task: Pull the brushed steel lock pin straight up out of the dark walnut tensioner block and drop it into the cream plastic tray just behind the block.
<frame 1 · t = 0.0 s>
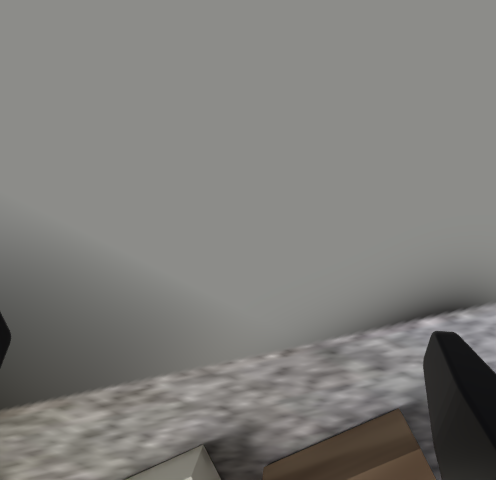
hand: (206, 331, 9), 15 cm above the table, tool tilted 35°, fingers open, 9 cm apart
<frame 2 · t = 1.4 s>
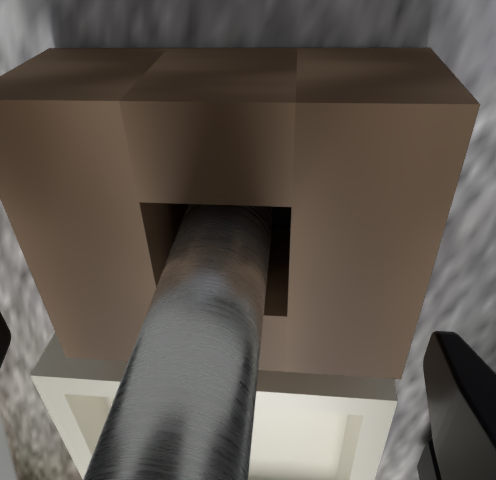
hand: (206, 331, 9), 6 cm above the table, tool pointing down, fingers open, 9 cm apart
tray: (228, 415, 22), on the table
tensioner block: (238, 182, 14), on the table
lock pin: (212, 291, 10), in the tensioner block
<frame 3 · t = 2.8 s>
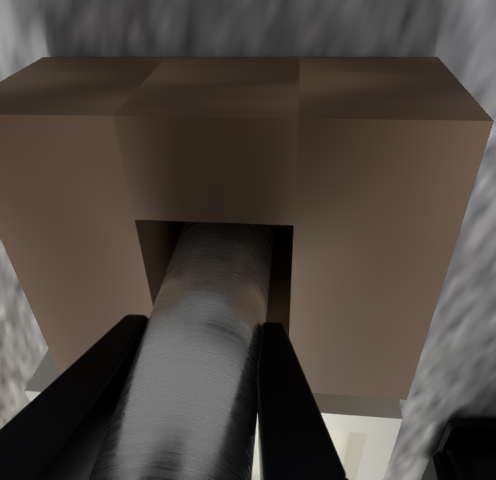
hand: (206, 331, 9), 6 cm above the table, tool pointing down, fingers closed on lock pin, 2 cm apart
tray: (227, 428, 22), on the table
tensioner block: (238, 194, 14), on the table
lock pin: (210, 312, 10), in the tensioner block, touching gripper
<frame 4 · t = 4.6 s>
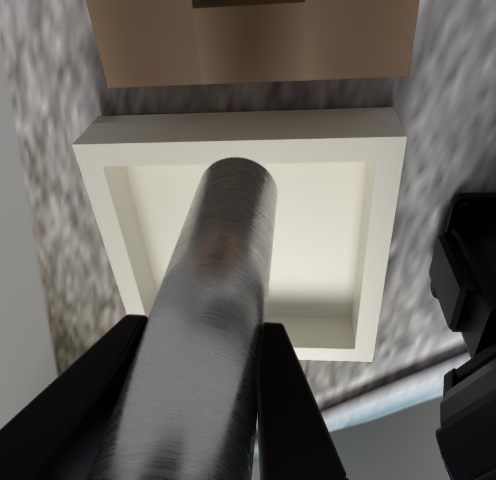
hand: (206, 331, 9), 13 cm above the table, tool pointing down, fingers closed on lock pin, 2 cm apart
tray: (249, 232, 24), on the table
lock pin: (210, 311, 10), point 12 cm above the table, touching gripper
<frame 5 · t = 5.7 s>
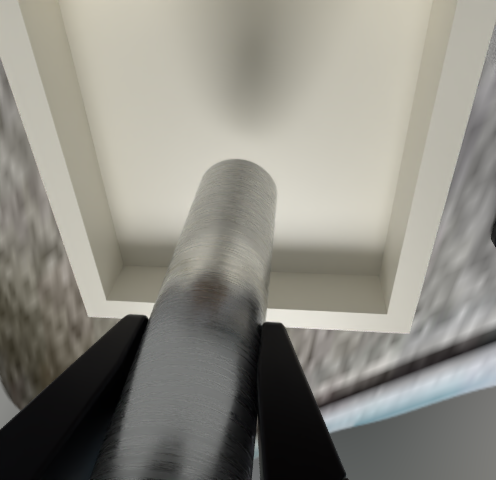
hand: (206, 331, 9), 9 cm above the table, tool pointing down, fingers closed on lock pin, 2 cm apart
tray: (246, 143, 17), on the table
lock pin: (210, 314, 10), point 9 cm above the table, touching gripper
when the fingers open (8 cm above the table, at t = 6.5 s): lock pin drops 1 cm, resting on tray.
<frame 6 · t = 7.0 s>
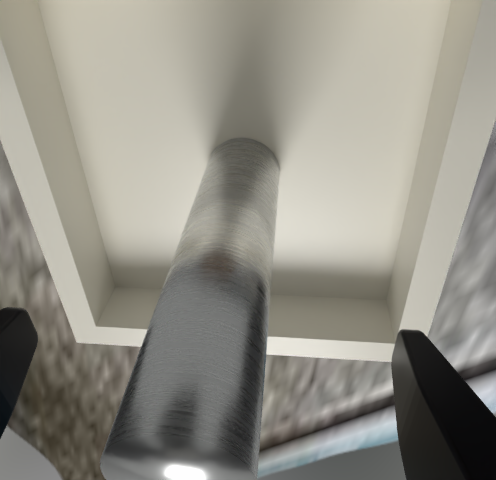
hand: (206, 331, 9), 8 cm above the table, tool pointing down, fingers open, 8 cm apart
tray: (244, 160, 16), on the table
lock pin: (222, 268, 11), in the tray, point 6 cm above the table
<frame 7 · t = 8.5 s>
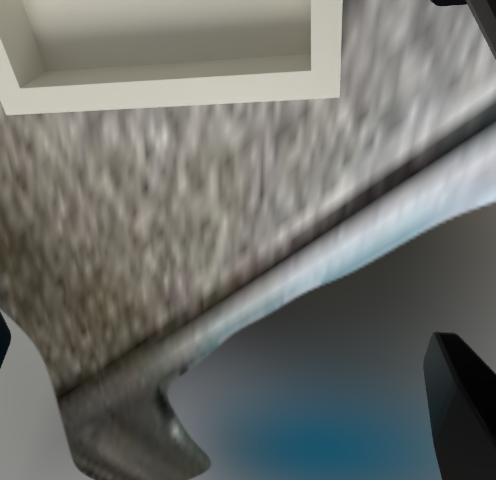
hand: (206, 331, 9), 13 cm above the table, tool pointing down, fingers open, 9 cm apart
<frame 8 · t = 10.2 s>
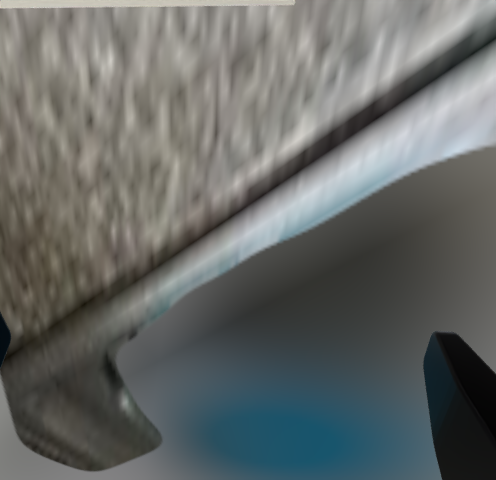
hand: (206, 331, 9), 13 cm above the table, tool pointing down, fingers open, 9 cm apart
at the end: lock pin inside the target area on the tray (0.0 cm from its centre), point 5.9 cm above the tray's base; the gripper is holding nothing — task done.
